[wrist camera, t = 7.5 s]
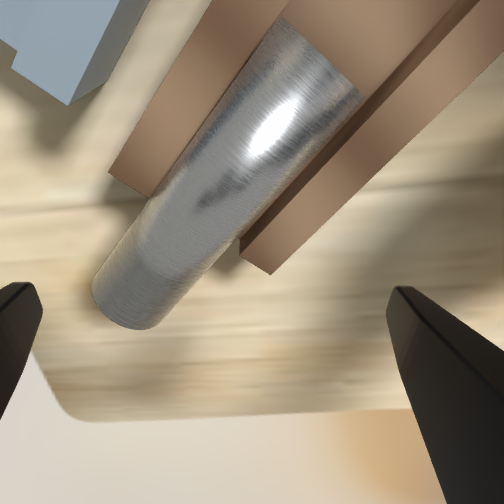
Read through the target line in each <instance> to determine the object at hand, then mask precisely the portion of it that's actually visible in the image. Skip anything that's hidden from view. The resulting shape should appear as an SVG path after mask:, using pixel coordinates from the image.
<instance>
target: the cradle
mask: <svg viewBox="0 0 504 504" xmlns="http://www.w3.org/2000/svg"><path fill="white" fill-rule="evenodd" d="M149 1H150V0H0V39H1V40H2V41H4V42H5V43H7V44H8V45H9V46H11V47H12V48H14V49H15V50H17V54H16V56H15V59H14V61H13V64H12V66H11V68H12V69H13V70H15V71H16V72H18V73H19V74H21V75H22V76H24V77H25V78H27V79H28V80H30V81H31V82H33V83H34V84H35V85H37V86H38V87H40V88H41V89H43V90H44V91H46V92H47V93H49V94H50V95H52V96H53V97H55V98H56V99H58V100H59V101H61V102H62V103H64V104H65V105H67V106H69V105H70V104H72V103H73V102H75V101H77V100H78V99H80V98H81V97H83V96H84V95H86V94H87V93H89V92H91V91H92V90H94V89H95V88H97V87H98V86H100V85H102V84H103V83H105V82H106V81H107V80H108V78H109V76H110V74H111V72H112V70H113V69H114V67H115V65H116V63H117V61H118V59H119V57H120V55H121V53H122V52H123V50H124V48H125V46H126V44H127V42H128V40H129V38H130V36H131V35H132V33H133V31H134V29H135V27H136V25H137V23H138V21H139V19H140V18H141V16H142V14H143V12H144V10H145V8H146V6H147V4H148V2H149Z"/></svg>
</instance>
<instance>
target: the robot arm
mask: <svg viewBox="0 0 504 504" xmlns="http://www.w3.org/2000/svg"><path fill="white" fill-rule="evenodd" d="M42 314H43V309H42V305H41V302H40V299H39V297H38V294H37V292H36V289H35V287H34V285H33V284H32V283H30V282H13V283H11V284H9V285H7V286H5V287H4V288H2V289H0V419H1V417H2V415H3V413H4V411H5V409H6V407H7V405H8V402H9V400H10V398H11V396H12V394H13V392H14V390H15V388H16V386H17V383H18V381H19V379H20V377H21V375H22V372H23V370H24V367H25V365H26V362H27V359H28V356H29V353H30V350H31V347H32V344H33V342H34V339H35V336H36V333H37V330H38V327H39V324H40V321H41V318H42ZM386 319H387V324H388V328H389V332H390V336H391V341H392V345H393V349H394V353H395V357H396V362H397V365H398V369H399V373H400V376H401V379H402V382H403V384H404V387H405V390H406V393H407V395H408V398H409V401H410V403H411V406H412V409H413V412H414V414H415V417H416V420H417V423H418V425H419V428H420V431H421V434H422V436H423V439H424V442H425V445H426V447H427V450H428V453H429V456H430V458H431V461H432V464H433V467H434V469H435V472H436V475H437V478H438V480H439V483H440V486H441V488H442V491H443V494H444V497H445V500H446V502H447V504H504V351H503V350H502V349H500V348H499V347H497V346H496V345H494V344H493V343H492V342H490V341H489V340H487V339H486V338H485V337H483V336H482V335H480V334H479V333H477V332H476V331H475V330H473V329H472V328H470V327H469V326H468V325H466V324H465V323H463V322H462V321H460V320H459V319H458V318H456V317H455V316H453V315H452V314H450V313H449V312H448V311H446V310H445V309H443V308H442V307H441V306H439V305H438V304H436V303H435V302H433V301H432V300H431V299H429V298H428V297H426V296H425V295H424V294H422V293H421V292H419V291H418V290H416V289H415V288H413V287H412V286H396V287H394V289H393V290H392V293H391V296H390V300H389V303H388V306H387V309H386Z"/></svg>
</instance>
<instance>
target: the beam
mask: <svg viewBox="0 0 504 504" xmlns="http://www.w3.org/2000/svg"><path fill="white" fill-rule="evenodd" d="M280 15H281V16H282V17H283V18H284V19H285V20H287V21H288V22H289V23H290V24H291V25H292V26H293V27H294V28H295V29H296V30H297V31H298V32H299V33H300V34H301V35H302V36H303V37H304V38H305V39H306V40H307V41H308V42H310V43H311V44H312V45H313V46H314V47H315V48H316V49H317V50H318V51H319V52H320V53H321V54H322V55H323V56H324V57H325V58H326V59H327V60H328V61H329V62H330V63H331V64H332V65H333V66H334V67H335V68H336V69H337V70H338V71H339V72H340V73H341V74H342V75H343V76H344V77H345V78H347V79H348V80H349V81H350V82H351V83H352V84H353V85H354V86H355V87H356V88H357V89H358V90H359V91H360V92H361V93H362V94H363V95H364V96H365V99H364V100H363V101H362V102H361V103H360V104H359V105H358V107H357V108H356V109H355V110H354V111H353V112H352V113H351V114H350V115H349V116H348V117H347V119H346V120H345V121H344V122H343V123H342V124H341V125H340V126H339V127H338V128H337V129H336V131H335V132H334V133H333V134H332V135H331V136H330V137H329V138H328V139H327V140H326V141H325V143H324V144H323V145H322V146H321V147H320V148H319V149H318V150H317V151H316V152H315V153H314V155H313V156H312V157H311V158H310V159H309V160H308V161H307V162H306V163H305V164H304V165H303V167H302V168H301V169H300V170H299V171H298V172H297V173H296V174H295V175H294V176H293V177H292V179H291V180H290V181H289V182H288V183H287V184H286V185H285V186H284V187H283V188H282V189H281V191H280V192H279V193H278V194H277V195H276V196H275V197H274V198H273V199H272V200H271V201H270V203H269V204H268V205H267V206H266V207H265V208H264V209H263V210H262V211H261V212H260V213H259V215H258V216H257V217H256V218H255V219H254V220H253V221H252V222H251V223H250V224H249V225H248V227H247V228H246V229H245V230H244V231H243V232H242V233H241V234H240V235H239V236H238V238H239V239H240V251H239V256H241V257H242V258H244V259H246V260H247V261H249V262H250V263H252V264H254V265H255V266H257V267H258V268H260V269H261V270H263V271H265V272H266V273H268V274H269V275H271V274H272V273H274V272H275V271H276V270H277V269H278V268H279V267H280V266H281V265H282V264H283V263H284V262H285V261H286V260H287V259H288V258H289V257H290V256H291V255H292V254H293V253H294V252H295V251H296V250H297V249H298V248H300V247H301V246H302V245H303V244H304V243H305V242H306V241H307V240H308V239H309V238H310V237H311V236H312V235H313V234H314V233H315V232H316V231H317V230H318V229H319V228H320V227H321V226H322V225H323V224H324V223H325V222H327V221H328V220H329V219H330V218H331V217H332V216H333V215H334V214H335V213H336V212H337V211H338V210H339V209H340V208H341V207H342V206H343V205H344V204H345V203H346V202H347V201H348V200H349V199H350V198H351V197H352V196H354V195H355V194H356V193H357V192H358V191H359V190H360V189H361V188H362V187H363V186H364V185H365V184H366V183H367V182H368V181H369V180H370V179H371V178H372V177H373V176H374V175H375V174H376V173H377V172H378V171H380V170H381V169H382V168H383V167H384V166H385V165H386V164H387V163H388V162H389V161H390V160H391V159H392V158H393V157H394V156H395V155H396V154H397V153H398V152H399V151H400V150H401V149H402V148H403V147H404V146H405V145H407V144H408V143H409V142H410V141H411V140H412V139H413V138H414V137H415V136H416V135H417V134H418V133H419V132H420V131H421V130H422V129H423V128H424V127H425V126H426V125H427V124H428V123H429V122H430V121H431V120H432V119H434V118H435V117H436V116H437V115H438V114H439V113H440V112H441V111H442V110H443V109H444V108H445V107H446V106H447V105H448V104H449V103H450V102H451V101H452V100H453V99H454V98H455V97H456V96H457V95H458V94H460V93H461V92H462V91H463V90H464V89H465V88H466V87H467V86H468V85H469V84H470V83H471V82H472V81H473V80H474V79H475V78H476V77H477V76H478V75H479V74H480V73H481V72H482V71H483V70H484V69H485V68H487V67H488V66H489V65H490V64H491V63H492V62H493V61H494V60H495V59H496V58H497V57H498V56H499V55H500V54H501V53H502V52H503V51H504V0H212V2H211V4H210V5H209V7H208V9H207V10H206V12H205V14H204V15H203V17H202V18H201V20H200V22H199V23H198V25H197V27H196V28H195V30H194V32H193V33H192V35H191V37H190V38H189V40H188V41H187V43H186V45H185V46H184V48H183V50H182V51H181V53H180V55H179V56H178V58H177V60H176V61H175V63H174V64H173V66H172V68H171V69H170V71H169V73H168V74H167V76H166V78H165V79H164V81H163V83H162V84H161V86H160V87H159V89H158V91H157V92H156V94H155V96H154V97H153V99H152V101H151V102H150V104H149V106H148V107H147V109H146V110H145V112H144V114H143V115H142V117H141V119H140V120H139V122H138V124H137V125H136V127H135V129H134V130H133V132H132V133H131V135H130V137H129V138H128V140H127V142H126V143H125V145H124V147H123V148H122V150H121V152H120V153H119V155H118V156H117V158H116V160H115V161H114V163H113V165H112V166H111V168H110V170H109V171H108V173H110V174H111V175H113V176H114V177H116V178H118V179H119V180H121V181H122V182H124V183H125V184H127V185H129V186H130V187H132V188H133V189H135V190H136V191H138V192H140V193H141V194H143V195H144V196H146V197H148V198H149V199H150V197H151V196H152V194H153V193H154V191H155V190H156V189H157V187H158V186H159V185H160V184H161V182H162V181H163V180H164V178H165V177H166V175H167V174H168V172H169V171H170V170H171V168H172V167H173V165H174V164H175V163H176V161H177V160H178V158H179V157H180V156H181V154H182V153H183V151H184V150H185V149H186V147H187V146H188V144H189V143H190V142H191V140H192V139H193V137H194V136H195V135H196V133H197V132H198V130H199V129H200V128H201V126H202V125H203V123H204V122H205V120H206V119H207V118H208V116H209V115H210V113H211V112H212V111H213V109H214V108H215V106H216V105H217V104H218V102H219V101H220V99H221V98H222V97H223V95H224V94H225V92H226V91H227V90H228V88H229V87H230V85H231V84H232V83H233V81H234V80H235V78H236V77H237V76H238V74H239V73H240V71H241V70H242V69H243V67H244V66H245V64H246V63H247V61H248V60H249V59H250V57H251V56H252V54H253V53H254V52H255V50H256V49H257V47H258V46H259V45H260V43H261V42H262V40H263V39H264V38H265V36H266V35H267V33H268V32H269V31H270V29H271V28H272V26H273V25H274V24H275V22H276V21H277V19H278V18H279V17H280Z"/></svg>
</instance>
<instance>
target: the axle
mask: <svg viewBox="0 0 504 504" xmlns="http://www.w3.org/2000/svg"><path fill="white" fill-rule="evenodd" d="M364 99H365V96H364V95H363V94H362V93H361V92H360V91H359V90H358V89H357V88H356V87H355V86H354V85H353V84H352V83H351V82H350V81H349V80H348V79H347V78H345V77H344V76H343V75H342V74H341V73H340V72H339V71H338V70H337V69H336V68H335V67H334V66H333V65H332V64H331V63H330V62H329V61H328V60H327V59H326V58H325V57H324V56H323V55H322V54H321V53H320V52H319V51H318V50H317V49H316V48H315V47H314V46H313V45H312V44H311V43H310V42H308V41H307V40H306V39H305V38H304V37H303V36H302V35H301V34H300V33H299V32H298V31H297V30H296V29H295V28H294V27H293V26H292V25H291V24H290V23H289V22H288V21H287V20H285V19H284V18H283V17H282V16H281V15H280V17H279V18H278V19H277V21H276V22H275V24H274V25H273V26H272V28H271V29H270V31H269V32H268V33H267V35H266V36H265V38H264V39H263V40H262V42H261V43H260V45H259V46H258V47H257V49H256V50H255V52H254V53H253V54H252V56H251V57H250V59H249V60H248V61H247V63H246V64H245V66H244V67H243V69H242V70H241V71H240V73H239V74H238V76H237V77H236V78H235V80H234V81H233V83H232V84H231V85H230V87H229V88H228V90H227V91H226V92H225V94H224V95H223V97H222V98H221V99H220V101H219V102H218V104H217V105H216V106H215V108H214V109H213V111H212V112H211V113H210V115H209V116H208V118H207V119H206V120H205V122H204V123H203V125H202V126H201V128H200V129H199V130H198V132H197V133H196V135H195V136H194V137H193V139H192V140H191V142H190V143H189V144H188V146H187V147H186V149H185V150H184V151H183V153H182V154H181V156H180V157H179V158H178V160H177V161H176V163H175V164H174V165H173V167H172V168H171V170H170V171H169V172H168V174H167V175H166V177H165V178H164V180H163V181H162V182H161V184H160V185H159V187H158V188H157V189H156V191H155V192H154V194H153V195H152V196H151V198H150V199H149V201H148V202H147V203H146V205H145V206H144V208H143V209H142V210H141V212H140V213H139V215H138V216H137V217H136V219H135V220H134V222H133V223H132V224H131V226H130V227H129V229H128V230H127V231H126V233H125V234H124V236H123V237H122V239H121V240H120V241H119V243H118V244H117V246H116V247H115V248H114V250H113V251H112V253H111V254H110V255H109V257H108V258H107V260H106V261H105V262H104V264H103V265H102V267H101V268H100V269H99V271H98V272H97V274H96V275H95V277H94V278H93V281H92V295H93V298H94V300H95V303H96V304H97V306H98V307H99V309H100V310H101V311H102V312H103V313H104V314H105V315H106V316H107V317H108V318H109V319H110V320H112V321H113V322H115V323H117V324H119V325H121V326H123V327H126V328H129V329H134V330H145V329H150V328H152V327H154V326H156V325H157V324H158V323H160V321H161V320H162V319H163V318H164V317H165V316H166V315H167V314H168V313H169V312H170V311H171V309H172V308H173V307H174V306H175V305H176V304H177V303H178V302H179V301H180V300H181V299H182V297H183V296H184V295H185V294H186V293H187V292H188V291H189V290H190V289H191V288H192V287H193V285H194V284H195V283H196V282H197V281H198V280H199V279H200V278H201V277H202V276H203V275H204V273H205V272H206V271H207V270H208V269H209V268H210V267H211V266H212V265H213V264H214V263H215V261H216V260H217V259H218V258H219V257H220V256H221V255H222V254H223V253H224V252H225V251H226V249H227V248H228V247H229V246H230V245H231V244H232V243H233V242H234V241H235V240H236V239H237V237H238V236H239V235H240V234H241V233H242V232H243V231H244V230H245V229H246V228H247V227H248V225H249V224H250V223H251V222H252V221H253V220H254V219H255V218H256V217H257V216H258V215H259V213H260V212H261V211H262V210H263V209H264V208H265V207H266V206H267V205H268V204H269V203H270V201H271V200H272V199H273V198H274V197H275V196H276V195H277V194H278V193H279V192H280V191H281V189H282V188H283V187H284V186H285V185H286V184H287V183H288V182H289V181H290V180H291V179H292V177H293V176H294V175H295V174H296V173H297V172H298V171H299V170H300V169H301V168H302V167H303V165H304V164H305V163H306V162H307V161H308V160H309V159H310V158H311V157H312V156H313V155H314V153H315V152H316V151H317V150H318V149H319V148H320V147H321V146H322V145H323V144H324V143H325V141H326V140H327V139H328V138H329V137H330V136H331V135H332V134H333V133H334V132H335V131H336V129H337V128H338V127H339V126H340V125H341V124H342V123H343V122H344V121H345V120H346V119H347V117H348V116H349V115H350V114H351V113H352V112H353V111H354V110H355V109H356V108H357V107H358V105H359V104H360V103H361V102H362V101H363V100H364Z"/></svg>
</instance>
